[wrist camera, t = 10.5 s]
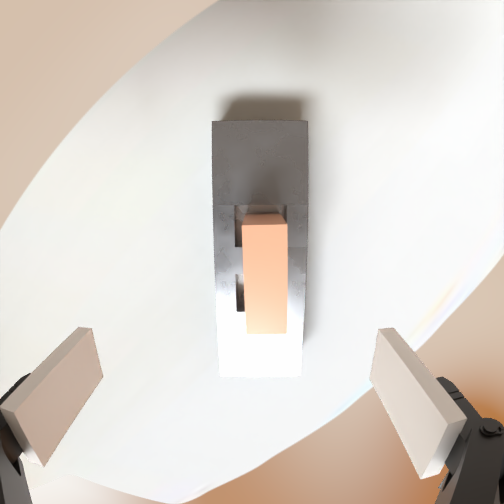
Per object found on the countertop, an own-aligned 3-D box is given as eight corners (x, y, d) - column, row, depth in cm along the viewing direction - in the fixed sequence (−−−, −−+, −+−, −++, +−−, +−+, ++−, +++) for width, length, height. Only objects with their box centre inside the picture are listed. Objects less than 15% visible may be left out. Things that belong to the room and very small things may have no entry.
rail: (224, 355, 35) (220, 376, 31) (217, 128, 29) (211, 121, 25) (296, 355, 35) (300, 375, 31) (301, 127, 29) (307, 120, 25)
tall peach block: (248, 292, 32) (245, 335, 23) (246, 211, 30) (241, 225, 21) (279, 291, 32) (287, 334, 23) (278, 210, 30) (287, 224, 21)
